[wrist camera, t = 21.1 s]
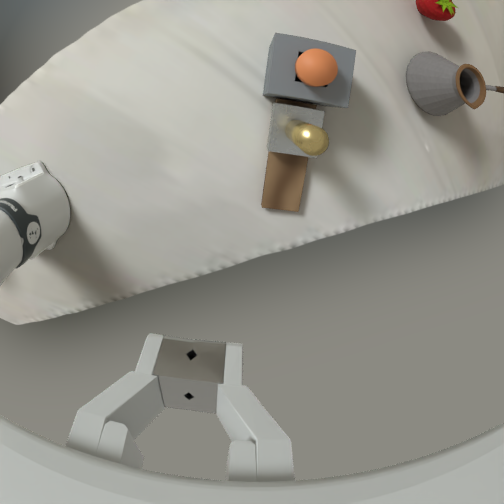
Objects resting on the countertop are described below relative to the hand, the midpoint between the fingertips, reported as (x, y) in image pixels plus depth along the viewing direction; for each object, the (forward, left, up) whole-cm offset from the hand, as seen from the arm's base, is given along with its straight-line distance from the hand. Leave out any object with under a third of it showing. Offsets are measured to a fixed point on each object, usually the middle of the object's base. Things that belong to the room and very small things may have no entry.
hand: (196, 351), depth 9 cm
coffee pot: (+35, +20, -39) cm, 56 cm away
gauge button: (+8, +13, -38) cm, 41 cm away
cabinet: (+8, +13, -39) cm, 42 cm away
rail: (+8, 0, -39) cm, 40 cm away
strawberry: (+28, +33, -39) cm, 58 cm away
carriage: (+8, +4, -37) cm, 38 cm away
